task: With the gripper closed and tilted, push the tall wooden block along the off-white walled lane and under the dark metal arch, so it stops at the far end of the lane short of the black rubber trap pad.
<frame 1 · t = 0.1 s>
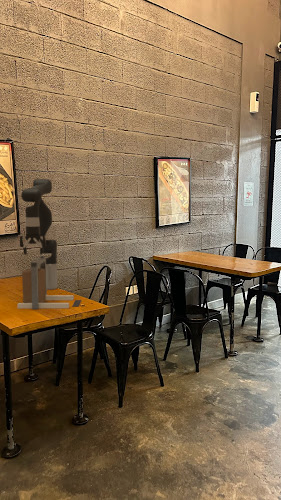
hand: (33, 254, 216), 29 cm above the table, tool pointing down, fingers open, 8 cm apart
wooden block: (34, 304, 224), on the table
arch: (39, 303, 224), on the table
walled lane: (46, 303, 224), on the table
trap pad: (76, 303, 224), on the table
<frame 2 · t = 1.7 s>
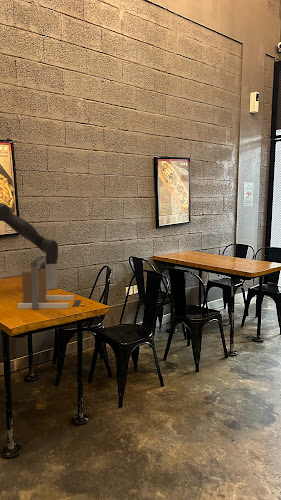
nothing on the table moved.
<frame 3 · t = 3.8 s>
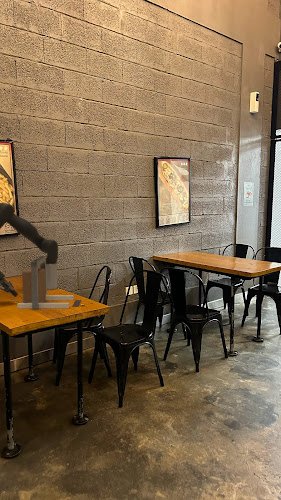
hand: (16, 295, 223), 5 cm above the table, tool tilted 45°, fingers closed
nothing on the table moved.
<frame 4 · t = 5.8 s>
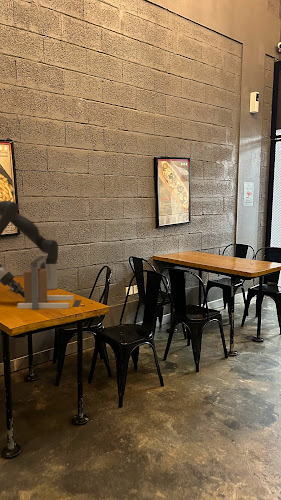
hand: (25, 296, 223), 4 cm above the table, tool tilted 45°, fingers closed
wooden block: (36, 304, 223), on the table, touching gripper
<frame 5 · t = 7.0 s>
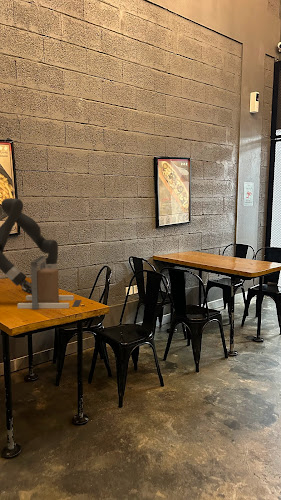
hand: (38, 296, 223), 4 cm above the table, tool tilted 45°, fingers closed
wooden block: (48, 304, 223), on the table, touching gripper
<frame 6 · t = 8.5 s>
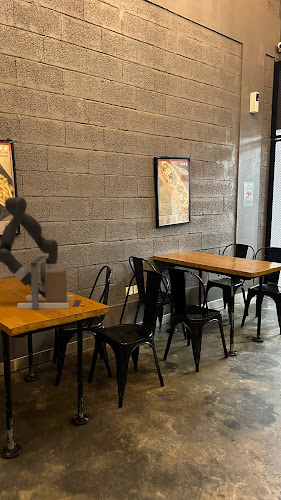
hand: (46, 296, 223), 4 cm above the table, tool tilted 45°, fingers closed
wooden block: (56, 304, 224), on the table, touching gripper
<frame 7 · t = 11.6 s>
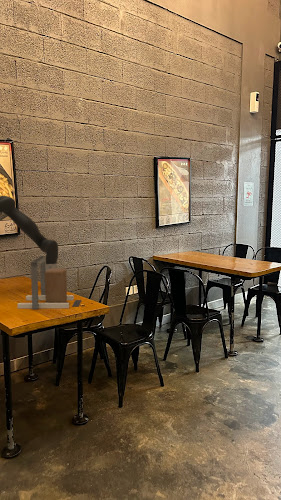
wooden block: (56, 304, 224), on the table
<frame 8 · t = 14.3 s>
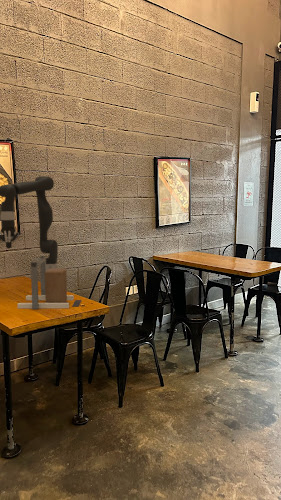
hand: (8, 248, 230), 31 cm above the table, tool pointing down, fingers closed
nothing on the table moved.
at the end: wooden block inside the target area (1.7 cm from its centre), on the table; wooden block tilted 0°; wooden block touching table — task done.
